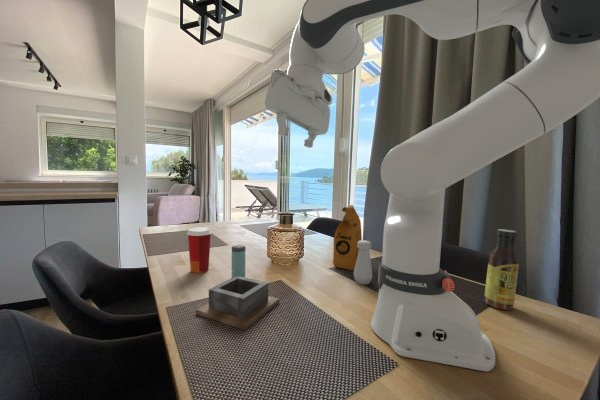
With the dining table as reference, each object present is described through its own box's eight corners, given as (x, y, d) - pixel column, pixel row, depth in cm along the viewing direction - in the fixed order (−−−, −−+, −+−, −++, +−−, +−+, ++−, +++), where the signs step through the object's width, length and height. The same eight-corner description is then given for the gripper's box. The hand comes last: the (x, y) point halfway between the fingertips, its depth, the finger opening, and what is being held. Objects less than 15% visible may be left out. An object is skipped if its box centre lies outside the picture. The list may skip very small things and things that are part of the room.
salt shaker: (372, 286, 79) (374, 244, 78) (353, 284, 80) (355, 242, 79) (371, 279, 84) (373, 239, 83) (353, 277, 86) (354, 238, 85)
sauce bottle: (499, 312, 65) (506, 233, 64) (477, 300, 71) (484, 228, 70) (521, 310, 66) (528, 232, 65) (498, 299, 73) (504, 227, 71)
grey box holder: (279, 302, 68) (279, 281, 67) (245, 330, 55) (245, 304, 54) (235, 291, 74) (235, 271, 73) (195, 313, 61) (195, 290, 61)
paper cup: (211, 265, 94) (211, 226, 93) (211, 273, 87) (211, 231, 85) (187, 267, 91) (187, 227, 90) (185, 275, 84) (185, 232, 83)
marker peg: (247, 281, 80) (248, 246, 79) (239, 286, 77) (239, 249, 76) (237, 279, 82) (237, 244, 81) (228, 283, 78) (228, 247, 77)
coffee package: (328, 267, 95) (330, 206, 94) (339, 258, 106) (341, 203, 105) (355, 272, 91) (357, 208, 89) (364, 262, 102) (366, 205, 100)
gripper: (283, 60, 55) (275, 125, 54) (335, 101, 71) (329, 151, 70) (263, 68, 59) (255, 128, 58) (317, 105, 75) (311, 153, 74)
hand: (296, 141), depth 64 cm, fingers open, 8 cm apart
